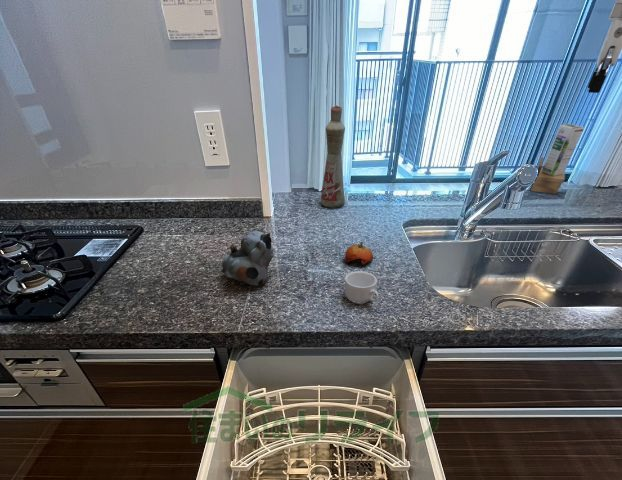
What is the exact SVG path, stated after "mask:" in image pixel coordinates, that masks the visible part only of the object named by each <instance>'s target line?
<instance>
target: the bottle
mask: <svg viewBox="0 0 622 480" xmlns="http://www.w3.org/2000/svg"><path fill="white" fill-rule="evenodd" d="M342 113H343V108H342V107H341V106H339V105H338V104H335V105H334V106H331V108H330V120H329V122H328V123H327V124H326V126H325V135H326V136H325V138H326V149H327V150H326V151H327V154H326V159H325V166H324V173H323V181H322V187H321V195H320V204H321V205H322V206H323V207H326V208H330V209H331V208H340V207H342V206H344V204H345V201H346V198H345V188H344V175H343V174H344V173H343V160H342V151H343V145H344V137H345V131H346V127H345V125H344V123H343V122H342Z"/></svg>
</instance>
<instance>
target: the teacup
mask: <svg viewBox="0 0 622 480" xmlns="http://www.w3.org/2000/svg"><path fill="white" fill-rule="evenodd" d="M377 284H378V278H377V277H376V276H375V275H374V274H372V273H370V272H368V271H362V270H361V271H360V270H357V271H352V272H351V271H350V272H349V273H347V274H346V275H345V277H344V294H345V296H346V298H347V299H348V301H350V302H351V303H354V304H356V305H363V304H366V303H369V302H376V301H378V300H379V297H380V295H379V292H378V291H377V290H376V289H377ZM374 295H376V297H375V298H374ZM353 301H354V302H353ZM366 301H367V302H366ZM357 302H364V303H357Z"/></svg>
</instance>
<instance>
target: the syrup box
mask: <svg viewBox="0 0 622 480" xmlns="http://www.w3.org/2000/svg"><path fill="white" fill-rule="evenodd" d="M584 129H585V126H580V125H576V124H573V123H564V124H560V126H559V127H558V131H557V133H556V135H555V138H554V140H553V143H552V145H551V148H550V151H549V153H548V155H547V157H546V159H545V162H544V163H543V164H544V165H543V166H542V168H543V169H542V172H543V173H546V174H549V175H551V176H556V175H561V174H564V171H565V172H566V169H567V167H568V165H569V163H570V161H571V158H572V156H573V154H574V151H575V150H576V148H577V145H578V142H579V141H580V139H581V136H582V134H583V132H584Z"/></svg>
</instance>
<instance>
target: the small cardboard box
mask: <svg viewBox="0 0 622 480" xmlns="http://www.w3.org/2000/svg"><path fill="white" fill-rule="evenodd" d="M544 160H545V157H540V159H539V162H538V164H537V167H536V169H538V176H537V179H536V181H535V183H532V186H531V189H530V191H531V192H537V193H544V194H550V195H551V194H552V195H557V194H558V192H559V190H560V187H561V185H562V184H564V182H565V179H566V170H565V171H564V174H561V175H556V176H551V175H549V174H546V173H543V172H542V169H543V166H544V165H543V164H544Z"/></svg>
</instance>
